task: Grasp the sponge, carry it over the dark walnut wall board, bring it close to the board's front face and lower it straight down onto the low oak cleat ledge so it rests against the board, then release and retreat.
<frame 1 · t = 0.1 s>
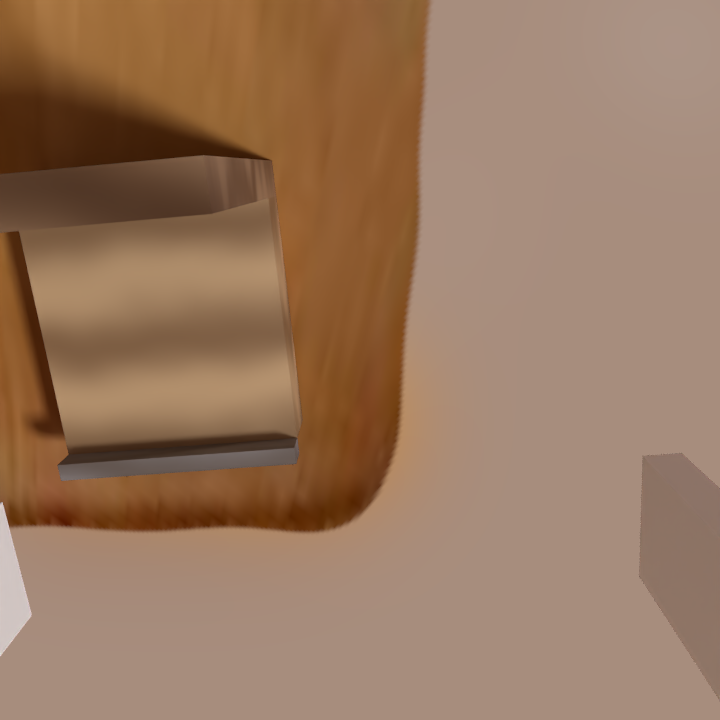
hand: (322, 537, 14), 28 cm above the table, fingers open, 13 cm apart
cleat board: (155, 189, 39), on the table
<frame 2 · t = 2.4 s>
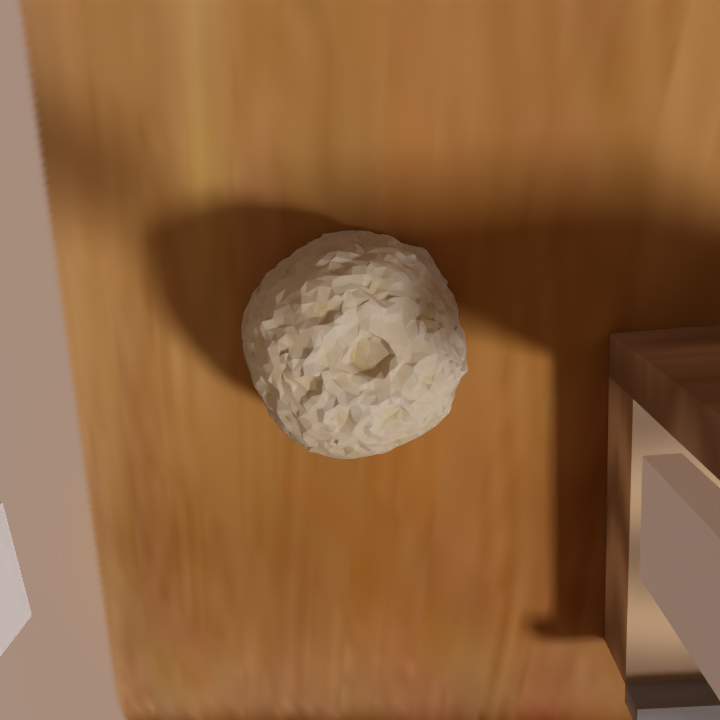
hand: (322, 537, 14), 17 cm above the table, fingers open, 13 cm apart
sponge: (357, 329, 30), on the table
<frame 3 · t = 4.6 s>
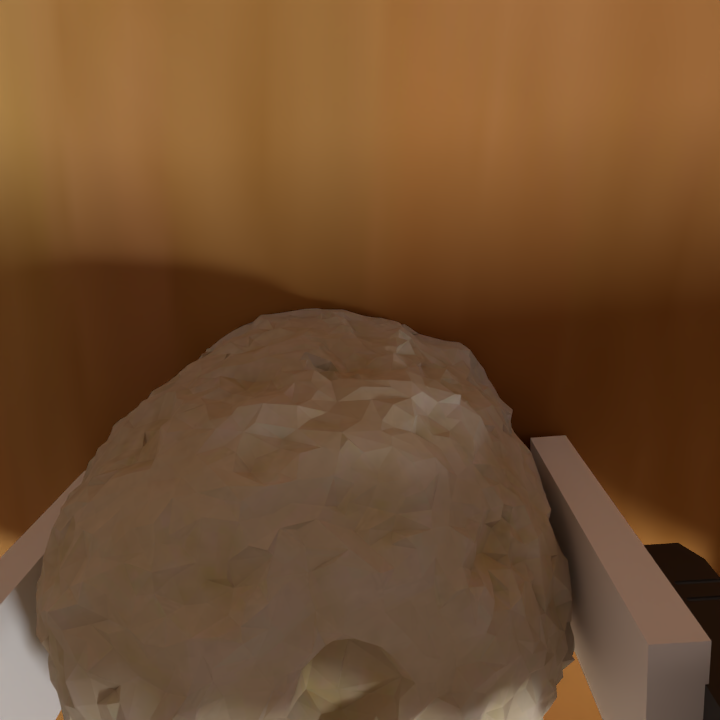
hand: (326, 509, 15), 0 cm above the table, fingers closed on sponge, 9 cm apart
sponge: (331, 493, 15), on the table, touching gripper
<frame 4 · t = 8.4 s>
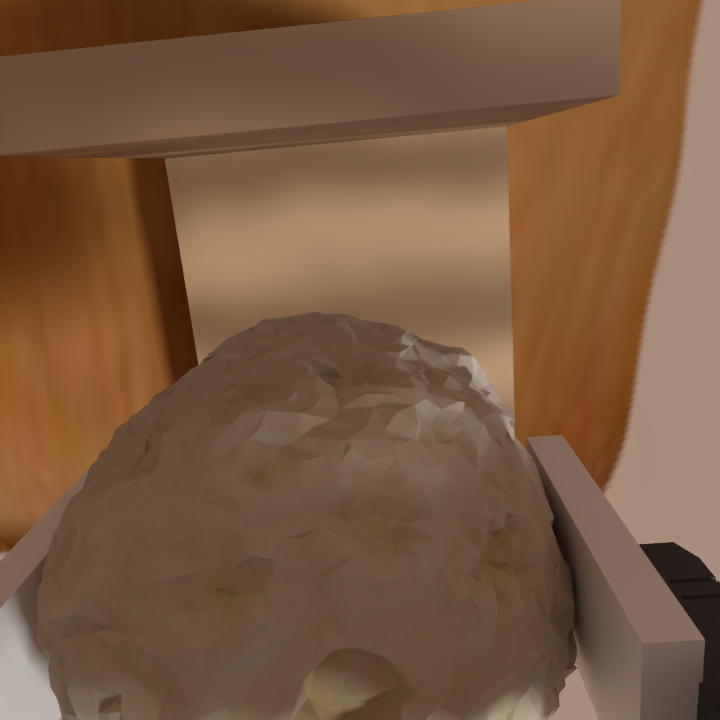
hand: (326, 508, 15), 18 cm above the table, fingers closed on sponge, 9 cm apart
sponge: (332, 498, 15), point 18 cm above the table, touching gripper
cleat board: (335, 121, 30), on the table
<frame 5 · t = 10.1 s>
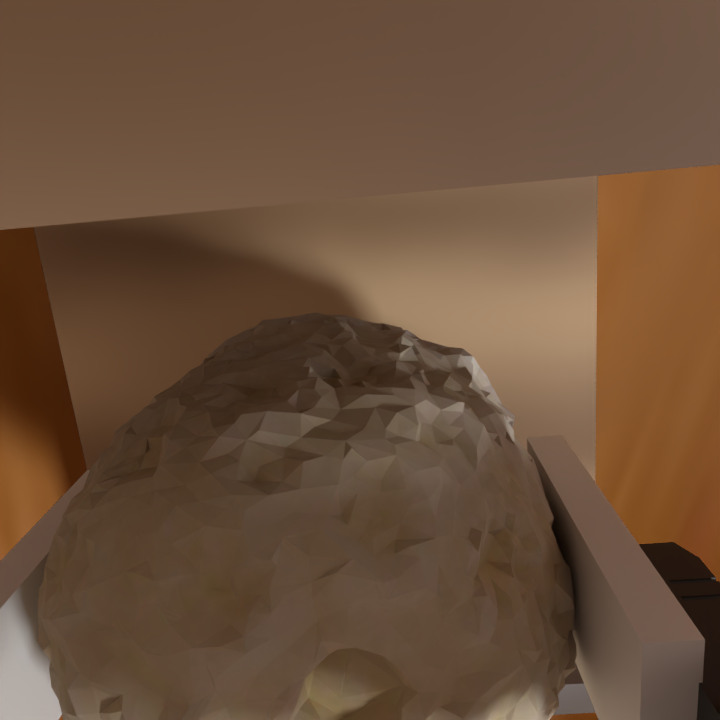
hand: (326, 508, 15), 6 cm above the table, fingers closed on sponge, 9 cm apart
sponge: (332, 498, 15), point 6 cm above the table, touching gripper
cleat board: (314, 141, 19), on the table
when the fingers open (3 cm above the table, at t = 11.8 s): sponge stays where it is, resting on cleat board.
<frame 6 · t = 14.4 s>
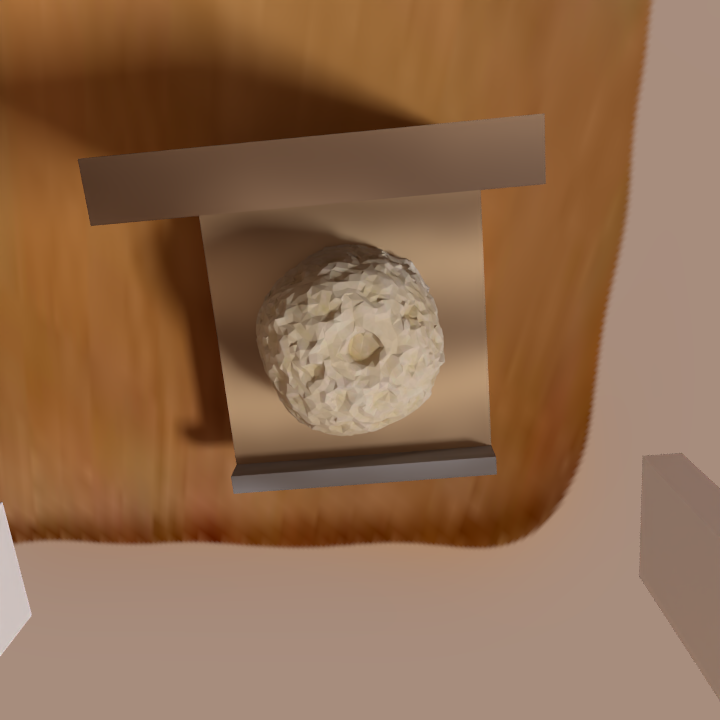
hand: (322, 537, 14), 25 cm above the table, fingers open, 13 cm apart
sponge: (352, 328, 35), point 3 cm above the table, touching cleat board
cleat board: (338, 172, 36), on the table
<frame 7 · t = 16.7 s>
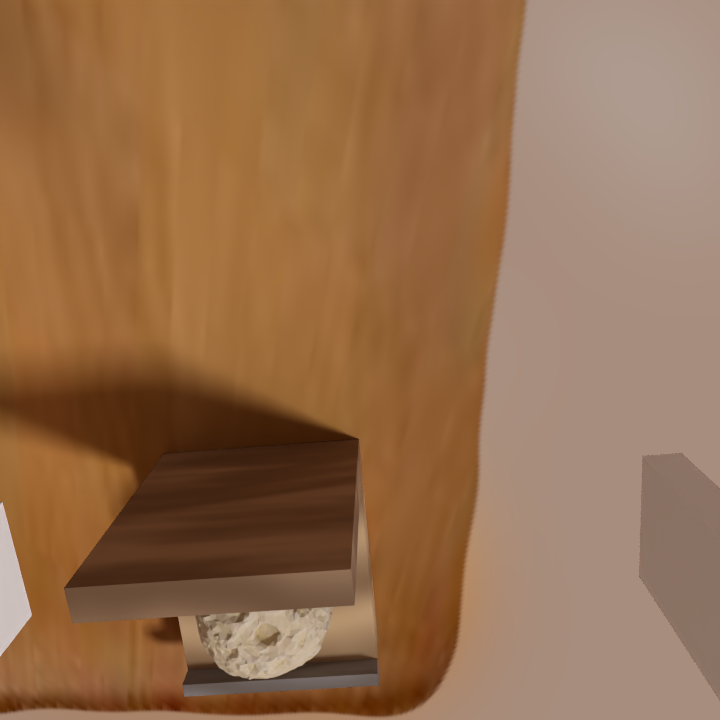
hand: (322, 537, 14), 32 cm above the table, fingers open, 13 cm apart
sponge: (272, 578, 47), point 3 cm above the table, touching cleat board
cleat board: (262, 459, 48), on the table
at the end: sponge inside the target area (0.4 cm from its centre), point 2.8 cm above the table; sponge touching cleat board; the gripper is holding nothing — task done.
